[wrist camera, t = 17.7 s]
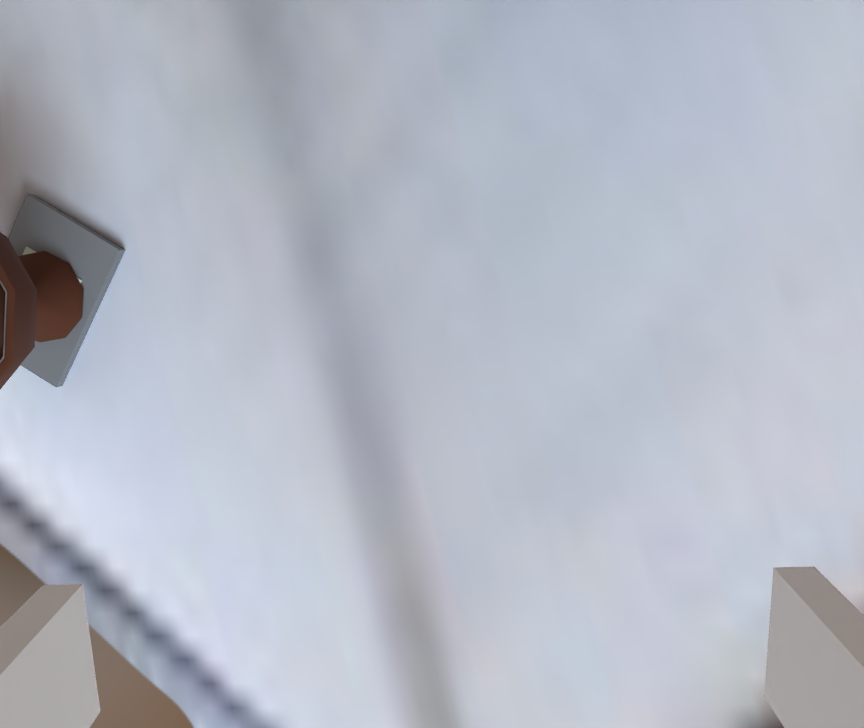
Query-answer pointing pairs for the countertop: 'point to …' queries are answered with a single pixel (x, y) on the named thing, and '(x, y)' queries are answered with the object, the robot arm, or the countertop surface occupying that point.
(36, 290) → the ice cream bowl
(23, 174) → the countertop surface
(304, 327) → the countertop surface
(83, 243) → the mat
